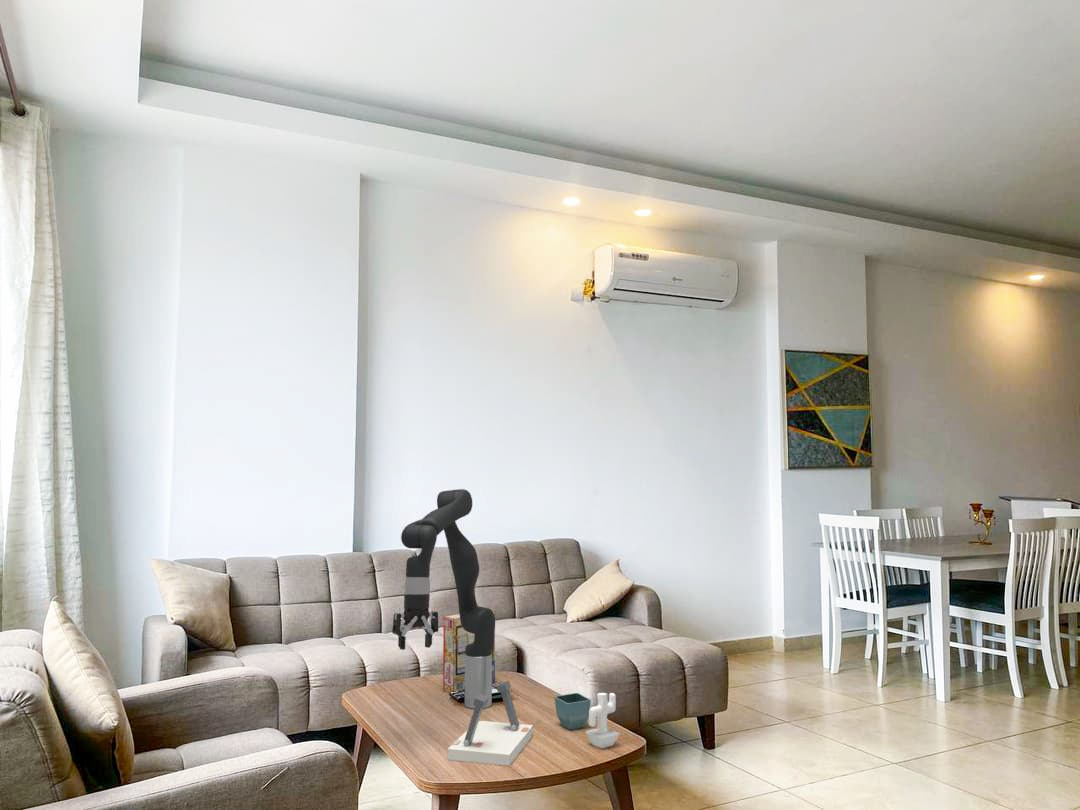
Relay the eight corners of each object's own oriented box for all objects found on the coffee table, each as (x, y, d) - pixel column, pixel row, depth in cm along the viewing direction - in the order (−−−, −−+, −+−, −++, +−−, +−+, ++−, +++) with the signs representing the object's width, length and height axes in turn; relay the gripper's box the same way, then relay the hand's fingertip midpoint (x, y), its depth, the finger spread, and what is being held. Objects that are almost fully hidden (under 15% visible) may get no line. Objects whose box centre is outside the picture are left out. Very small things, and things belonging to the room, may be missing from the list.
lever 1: (465, 739, 239) (480, 693, 239) (474, 742, 238) (488, 697, 238) (460, 744, 234) (475, 698, 234) (469, 748, 234) (484, 701, 234)
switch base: (477, 730, 257) (477, 719, 258) (533, 735, 253) (533, 724, 253) (447, 759, 232) (447, 747, 232) (509, 765, 228) (509, 753, 228)
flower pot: (567, 733, 255) (567, 703, 256) (553, 724, 263) (553, 696, 264) (591, 728, 259) (591, 699, 260) (577, 720, 267) (577, 692, 268)
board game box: (484, 680, 315) (485, 608, 316) (495, 683, 310) (496, 610, 312) (442, 691, 300) (443, 615, 302) (452, 694, 296) (453, 618, 298)
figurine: (582, 744, 245) (582, 693, 246) (606, 738, 250) (606, 688, 251) (598, 751, 239) (598, 698, 240) (622, 745, 245) (622, 693, 246)
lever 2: (513, 727, 252) (500, 682, 254) (522, 725, 251) (508, 680, 253) (509, 732, 247) (496, 686, 249) (518, 729, 247) (504, 684, 249)
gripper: (431, 591, 255) (429, 645, 252) (389, 592, 246) (387, 648, 243) (444, 592, 249) (442, 648, 246) (402, 593, 240) (399, 651, 238)
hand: (415, 648), depth 245 cm, fingers open, 8 cm apart
